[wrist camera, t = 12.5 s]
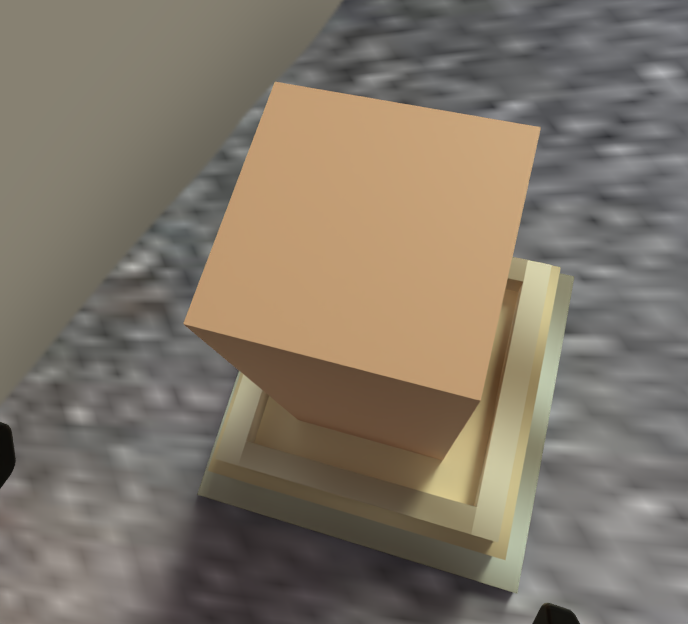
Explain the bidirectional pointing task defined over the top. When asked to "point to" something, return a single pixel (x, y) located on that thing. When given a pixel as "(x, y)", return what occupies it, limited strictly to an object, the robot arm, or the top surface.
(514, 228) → the column block
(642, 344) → the top surface
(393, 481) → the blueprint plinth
